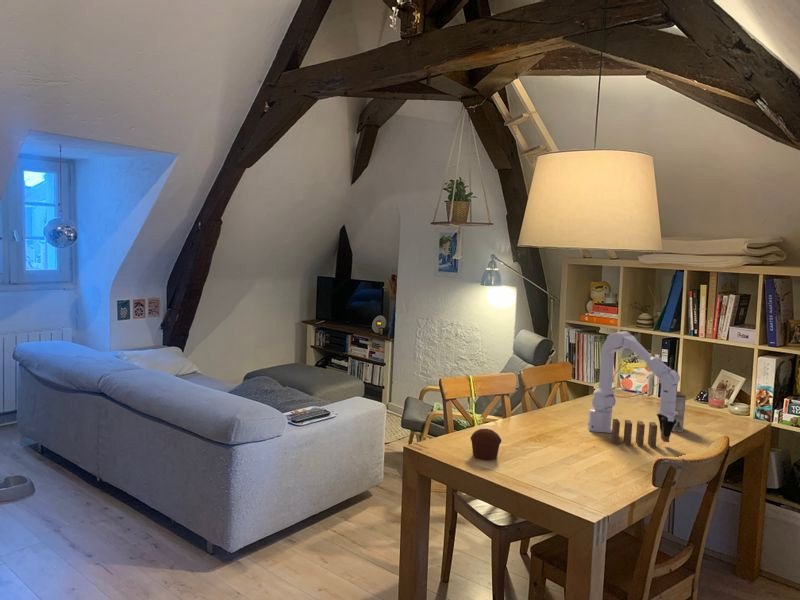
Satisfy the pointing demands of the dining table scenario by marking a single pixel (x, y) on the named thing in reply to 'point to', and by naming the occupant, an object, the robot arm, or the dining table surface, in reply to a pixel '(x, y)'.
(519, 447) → the dining table surface
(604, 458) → the dining table surface
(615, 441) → the domino
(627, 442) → the domino
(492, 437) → the muffin
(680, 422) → the coffee box
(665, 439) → the domino
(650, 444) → the domino
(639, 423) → the domino
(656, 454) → the dining table surface
